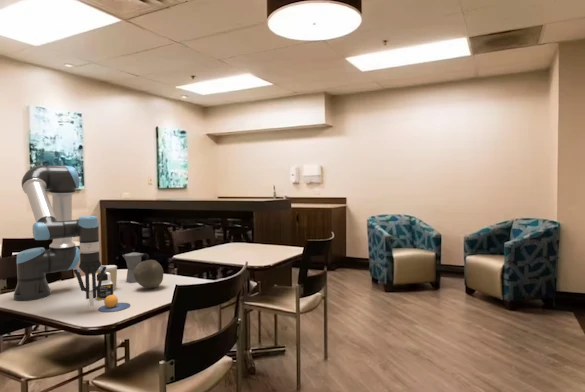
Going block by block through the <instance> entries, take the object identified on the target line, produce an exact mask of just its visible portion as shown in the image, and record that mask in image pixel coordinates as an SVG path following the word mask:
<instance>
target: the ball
mask: <svg viewBox="0 0 585 392" xmlns="http://www.w3.org/2000/svg"><path fill="white" fill-rule="evenodd" d="M103 300H104V301H103V302H104V305H105V306H106V307H108V308H112V307H115V306H116V305H117V303H119V298H118V297H117V296H116V295H114V294H113V295H109V296H107V297H106V298H105V299H103Z"/></svg>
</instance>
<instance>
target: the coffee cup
mask: <svg viewBox="0 0 585 392" xmlns="http://www.w3.org/2000/svg"><path fill="white" fill-rule="evenodd" d="M105 266H106V270H105V271H104V272H109V273H110V275H111V282H112V283H113V291H115V290H116V289H117V279H118V278H117V275H118V270H117V269H118V266H117V265H115V264H109V265H107V264H106V265H105ZM98 273H101V270H100V267H99V269H98V270H97V274H98Z"/></svg>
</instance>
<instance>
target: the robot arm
mask: <svg viewBox="0 0 585 392" xmlns="http://www.w3.org/2000/svg"><path fill="white" fill-rule="evenodd" d="M21 187H22V191H23V192H24V193H25V194H26V195H27V199H28V201H29V205H30V208H31V211H32V213H33V217H34V220H35V223H33V224H32V237H33V240H35V241H48V240H52V242H51V243H50V244H49V249H46V248H45V247H42V246H41V247H34V248H33V247H32V248H28V249H25V250H22V251H20V252H18V253H17V254H16V274H17V278H16V279H17V284H16V287H15V289H14V293H13V299H14V300H15V301H21V302H22V301H32V300H37V299H38V300H39V299H42V298H45V297H48V296H50V295H51V288H50V285H49V283H48V281H47V278H46V276H47V275H46V274H50V273H57V272H63V271H69V270H73V273H74V274H75V275H76V278H77V282H78V284H79V288H80V290H81V292H85V300H88V302H89V303H88V305H89V308H92V307H94V302H95V301H94V299H96V290H98V289H100V287H101V283H102V278H103V274H104V271H105V270H106V265H102V262H101V261H100V260H101V257H100V234H99V233H100V231H99V228H100V227H99V225H100V222H99V217H98V216H97V215H83V216H82V215H81V216H80V217H78V218H77V219H73V211H72V210H73V196H74V195H75V193H76V190H77V189H79V187H80V176H79V173H78V171H77V169H76V168H75V167H74V166H71V165H45V164H44V165H42V164H41V165H37V166H34V167H31V168H30V169H28V170H27V171H26V172H25V173H24V175H23V177H22V179H21ZM47 190H48V192H47ZM48 193H49V194H50V195H51V196H52V197H51V198H52V199H51V201H52V202H50V198H49V196H48ZM73 238H79V247H78V246H76V243H75V242H74V241H73ZM79 262H80V263H79ZM77 266H78V267H77ZM99 267H100V270H101V273H100V278H99V282H98V286H96V282H97V273H98V269H99ZM81 271H82V272H83V274H84V275H85V276H84V277H85V278H84V279H85V284H84V282H83V278H82V276H81ZM90 274H91V276H92V277H91V283H92V284H91V285H92V290H91V289H90Z"/></svg>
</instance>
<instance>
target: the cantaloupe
mask: <svg viewBox="0 0 585 392" xmlns="http://www.w3.org/2000/svg"><path fill="white" fill-rule="evenodd" d="M145 260H146V259H145ZM145 260H143V261H142V260H141V262H140V263H139V264H138V265H137V266H136V268H135V270H134V277H135V279H136V281H137V282H136V283H138V285H140V286H141V287H142V288H145V289H150V290H151V289H155V288H157V287H159V286H160V285H161V283H163V280H164V269H163V267H162V265H161V264H160V263H159V262H158V261H157V260H155V259H149V260H146V261H145Z"/></svg>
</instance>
